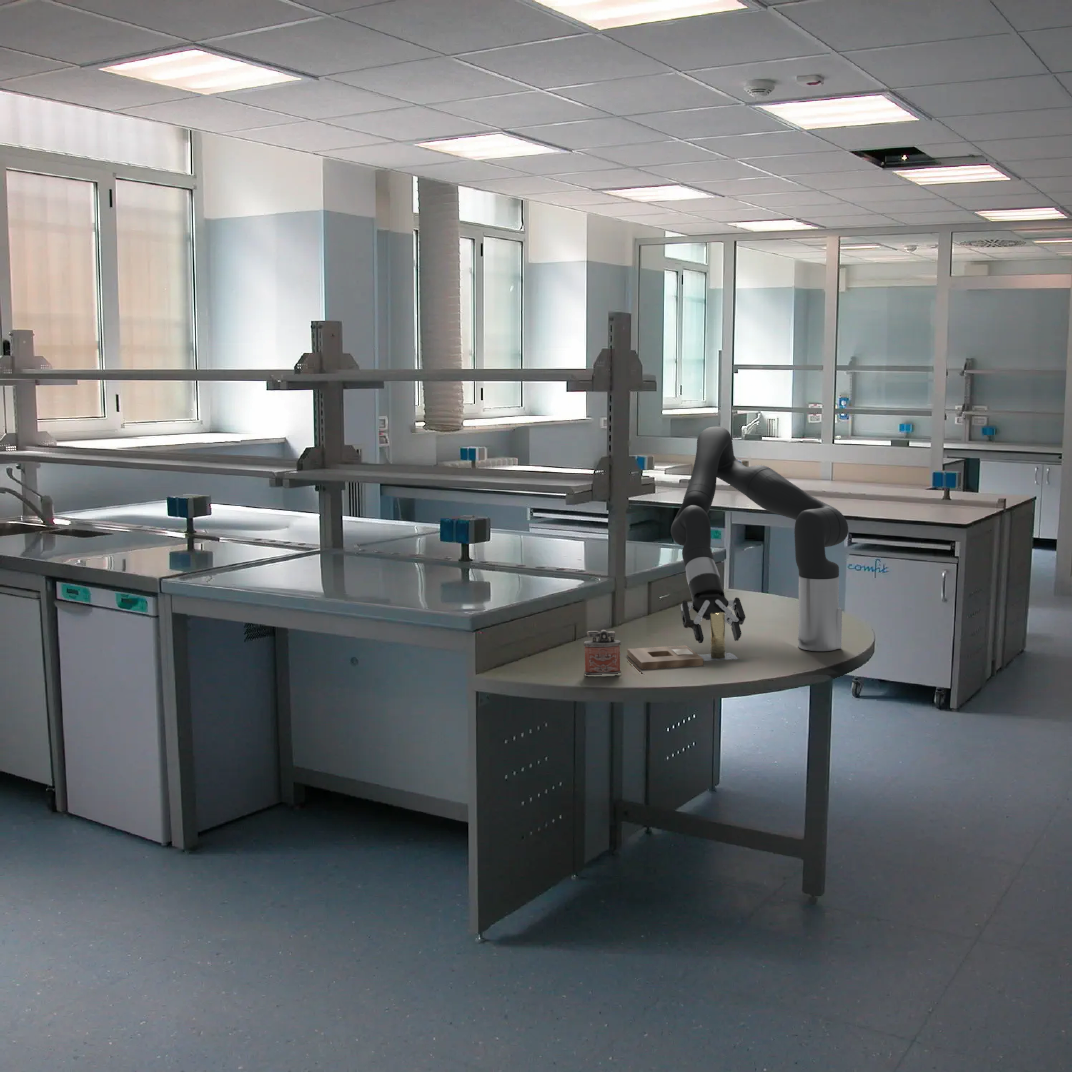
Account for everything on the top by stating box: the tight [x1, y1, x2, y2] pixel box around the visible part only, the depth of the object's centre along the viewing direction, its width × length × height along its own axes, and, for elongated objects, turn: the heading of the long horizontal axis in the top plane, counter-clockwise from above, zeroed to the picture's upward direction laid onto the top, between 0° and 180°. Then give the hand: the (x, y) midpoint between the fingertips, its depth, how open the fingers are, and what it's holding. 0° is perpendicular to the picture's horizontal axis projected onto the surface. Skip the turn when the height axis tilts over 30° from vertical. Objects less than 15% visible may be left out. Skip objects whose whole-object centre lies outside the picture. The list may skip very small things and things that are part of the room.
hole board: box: [626, 644, 704, 674], centre depth 252 cm, size 14×13×3 cm
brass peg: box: [709, 612, 726, 658], centre depth 254 cm, size 3×3×10 cm
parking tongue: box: [698, 652, 740, 662], centre depth 254 cm, size 8×6×2 cm
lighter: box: [583, 629, 622, 675], centre depth 246 cm, size 8×3×10 cm, turn 92°
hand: (719, 640), depth 252 cm, fingers open, 8 cm apart
